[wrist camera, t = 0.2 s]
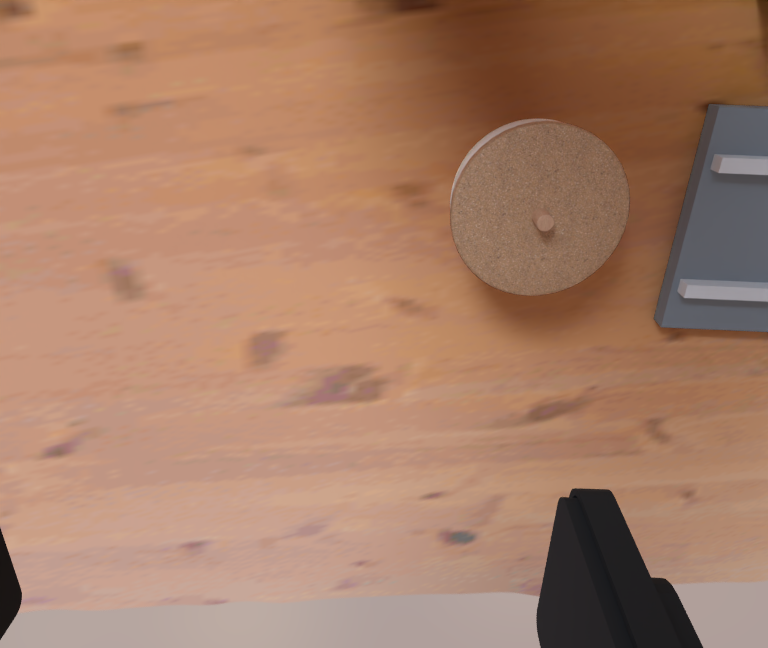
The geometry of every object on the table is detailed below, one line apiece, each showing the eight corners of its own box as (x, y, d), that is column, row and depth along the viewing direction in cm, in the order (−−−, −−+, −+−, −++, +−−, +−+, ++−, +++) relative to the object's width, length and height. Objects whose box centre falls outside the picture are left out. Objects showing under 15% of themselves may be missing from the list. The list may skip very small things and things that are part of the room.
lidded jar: (439, 254, 46) (447, 306, 38) (446, 105, 41) (458, 125, 33) (581, 257, 46) (622, 309, 38) (605, 107, 41) (658, 128, 33)
